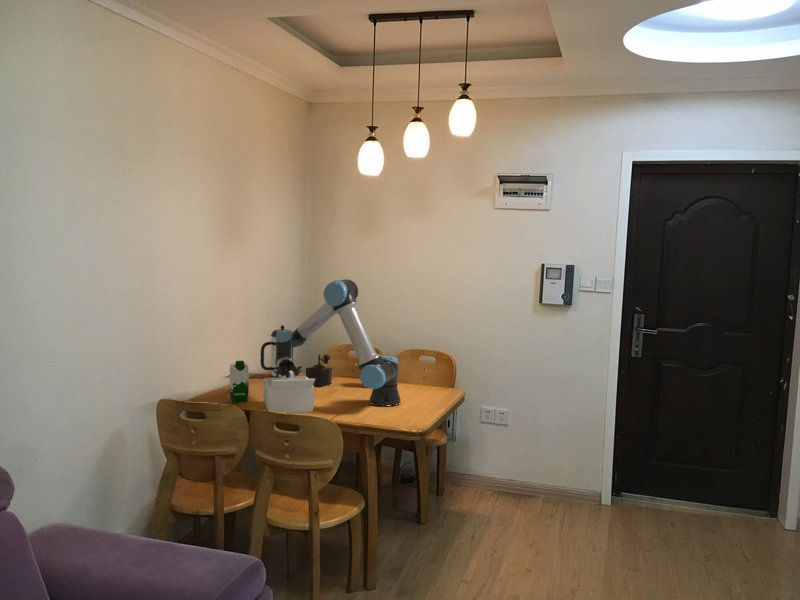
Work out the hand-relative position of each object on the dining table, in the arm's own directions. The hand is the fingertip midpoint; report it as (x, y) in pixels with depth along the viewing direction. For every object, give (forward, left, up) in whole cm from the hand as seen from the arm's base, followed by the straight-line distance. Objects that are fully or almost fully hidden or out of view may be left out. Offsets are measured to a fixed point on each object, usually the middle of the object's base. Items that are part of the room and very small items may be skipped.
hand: (292, 376), depth 295 cm
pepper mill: (+39, -52, -18) cm, 67 cm away
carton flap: (+1, -1, -3) cm, 3 cm away
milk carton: (+39, +1, -18) cm, 43 cm away
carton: (+14, -9, -18) cm, 25 cm away
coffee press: (+69, -47, -18) cm, 85 cm away
